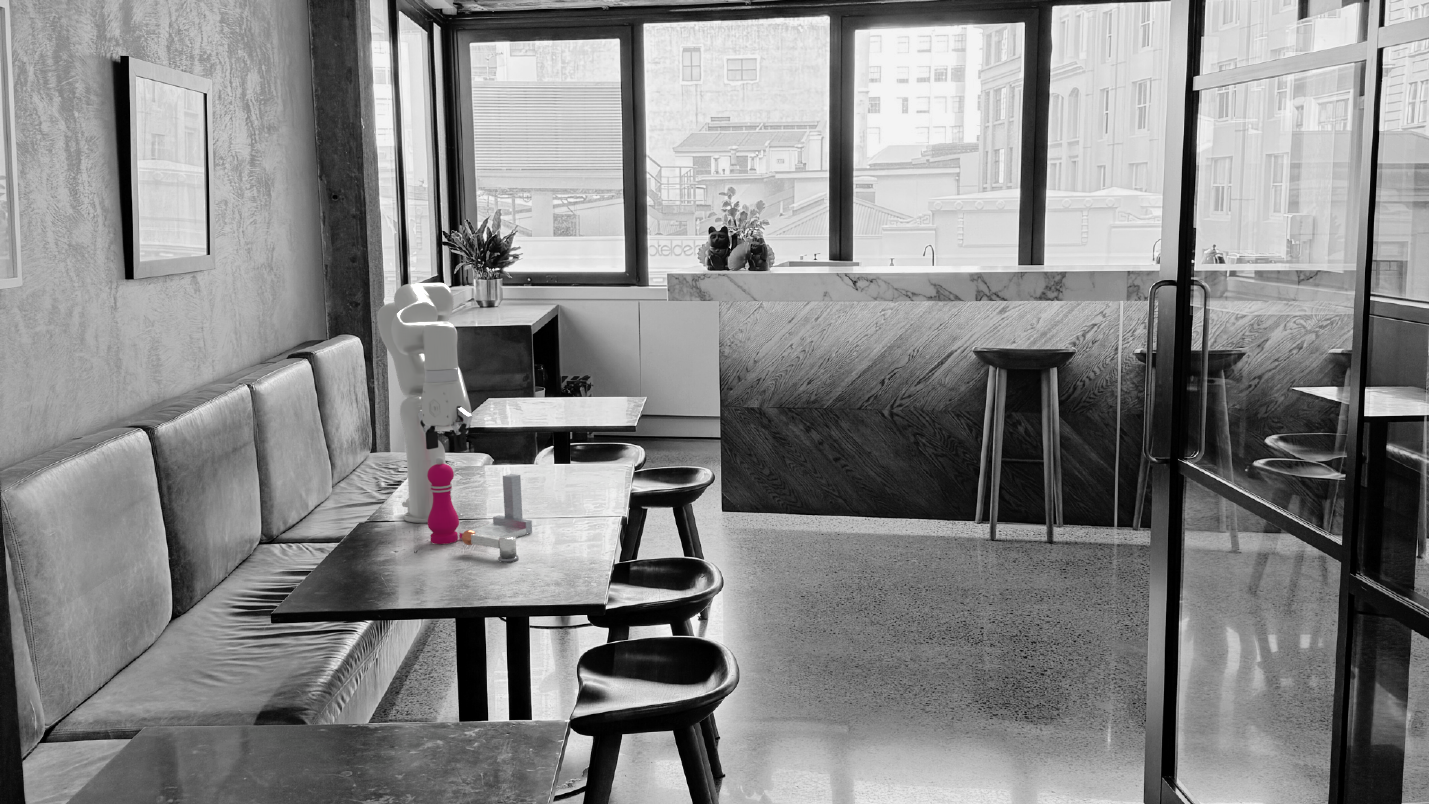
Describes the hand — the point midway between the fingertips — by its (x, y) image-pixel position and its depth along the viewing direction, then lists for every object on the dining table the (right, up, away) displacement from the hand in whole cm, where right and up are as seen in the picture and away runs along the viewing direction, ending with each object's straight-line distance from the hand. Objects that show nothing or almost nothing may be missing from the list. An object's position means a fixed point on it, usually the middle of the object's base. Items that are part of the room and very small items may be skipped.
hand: (446, 449), depth 273 cm
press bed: (+15, -22, -1) cm, 26 cm away
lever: (+12, -22, -12) cm, 28 cm away
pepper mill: (-1, -22, +2) cm, 22 cm away
